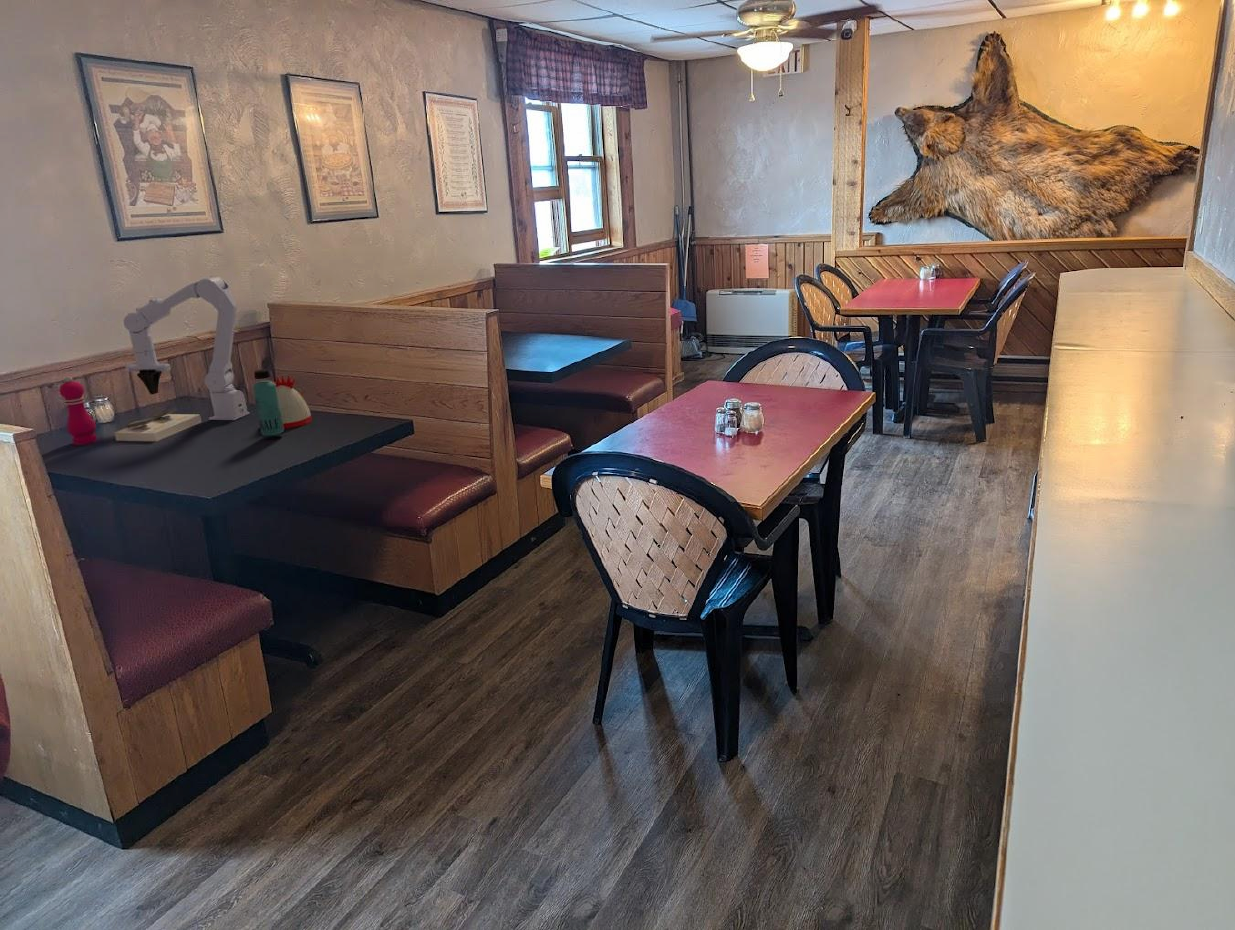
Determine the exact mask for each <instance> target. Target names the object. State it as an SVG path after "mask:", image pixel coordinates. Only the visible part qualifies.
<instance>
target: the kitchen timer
mask: <svg viewBox="0 0 1235 930" xmlns="http://www.w3.org/2000/svg"><path fill="white" fill-rule="evenodd" d="M287 375H288V376H287V380H285V378H284V376H283V374H281V381H280V378H279V377H278V375H275V376H276V377H275V378H276V380H275V381H274V380H273V379H271V380H270V381H272V382H274V383H275V384H276V390H277V395H278V401H279V406H280V410H281V415H282V422H283V425H284V426H283V427H284V430H285V429H292V428H296V427H301V426H304V425H306V424H307V425H308V424H309V423H310V422H311V421H312V414H311V411H310V409H309V405H308V404H307V403H306V401H305V397H304V396H302V395H301V394H300V392H298V391H297V390H296V389H294V387H293V386H294V384H295V380H296V377H294V378H293V379H292V381H291V379H290V378H291V377H290V374H287Z"/></svg>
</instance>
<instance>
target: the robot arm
mask: <svg viewBox="0 0 1235 930" xmlns="http://www.w3.org/2000/svg"><path fill="white" fill-rule="evenodd" d="M191 298H194V299H198V298H201V299H202V300H204V301H205V302H208V303H209V304H211V305H212V306H213V308H215V310H217V319H216V327H215V328H216V329H215V338H214V345H213V354H212V360H211V363H210V366H209V368H208V373H207V374H206V375H205V378H204V384H205V386H206V388H207V389H208V391H209V395H210V401H211V405H212V409H213V415H214V416H211V417H209V418H208V420H209V421H211V420H212V421H215V420H216V421H236V420H238V419H240V418H242V417H245V416H248V415H249V414H250V412H249V411H248V407H247V403H246V398H245V394H244V392H243V391H242V390H237V389H236V388H235V387H234V385H233V382H234V380H235V373H234V372H233V363H232V362H231V359H232V352H233V342H234V333H235V325H236V318H237V310H238V309H237V308H238V307H237V306H238V305H237V303H236V300H235V298H234V296H233V294H232V292H231V287H230V284H228V282H226V281H225V279H224V278H222V277H221V276H219V275H210V276H209V277H207V278H203V279H200V280H198V281H195V282H193V283H190V284H188V285H187V284H186V286H184V287H182V288H181V289H179V290H178V291H176V292H175V293H173V294H171V295H170V296H167V297H166V298H165V299H164V298H163V299H162V298H151V299H149V300H148V303H147V304H145V305H143V306H141V307H140V306H139V307H136V308H135V310H136V311H133V312H130V313H127V315H125V316H124V319H123V325H124V327H125V328H126V330H128V332H129V337H130V342H131V344H132V345H131V346H132V349H133V353H134V359H135V362H136V363H132V364H131V363H129V364H126V365H125V370H126V372H127V373H128V372H138V373H136V376H137V378H139V379H140V380H141V382H143V385H144V386H145V387H146V389H147V391H148V392H149V394H150V395H156V394H158V393H159V383H160V377H161V375H162V372H169V371H172V367H171V364H170V363H163V362H162V363H161V362H158V359H157V354H156V350H155V346H154V341H153V337H152V334H151V330H150V329H151V328H150V327H151V326H152V325H154V324H156V323H158V322H159V321H161V320H162V319H165V318H166V317H168V316H170V315H171V311H172V308H175V307H177V306H178V305H180V304H182V303H183V302H186V301H188V300H189V299H191Z"/></svg>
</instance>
